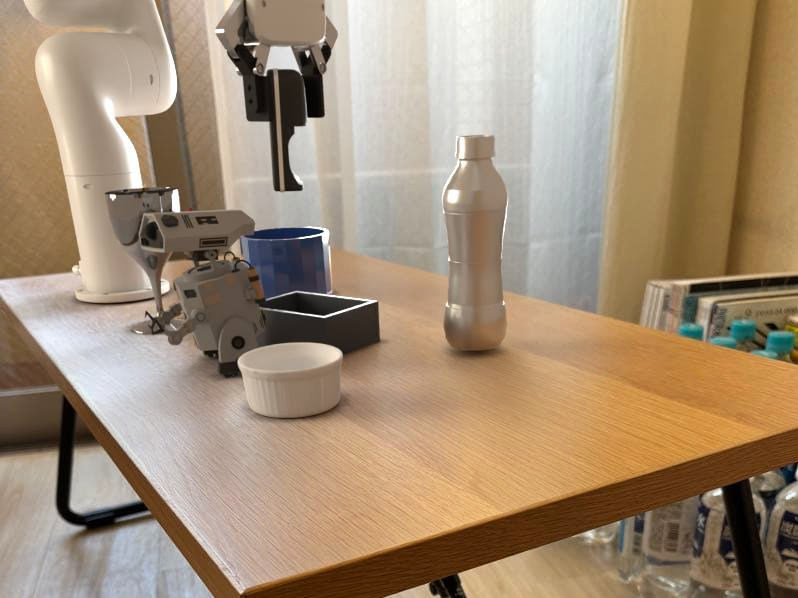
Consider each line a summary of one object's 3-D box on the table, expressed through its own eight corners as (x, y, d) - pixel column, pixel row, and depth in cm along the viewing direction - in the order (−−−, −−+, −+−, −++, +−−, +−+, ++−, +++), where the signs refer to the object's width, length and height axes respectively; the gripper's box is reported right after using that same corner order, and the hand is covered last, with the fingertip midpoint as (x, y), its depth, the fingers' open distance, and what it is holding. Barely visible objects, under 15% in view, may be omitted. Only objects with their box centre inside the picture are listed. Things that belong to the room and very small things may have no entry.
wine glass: (210, 320, 107) (192, 187, 101) (168, 336, 101) (146, 195, 94) (157, 316, 111) (136, 187, 104) (113, 331, 104) (88, 194, 97)
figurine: (147, 364, 91) (121, 208, 84) (257, 349, 95) (241, 199, 88) (160, 388, 84) (132, 219, 77) (280, 370, 87) (263, 208, 80)
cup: (228, 300, 118) (220, 236, 114) (287, 284, 126) (282, 225, 123) (292, 308, 112) (286, 242, 108) (350, 291, 120) (346, 229, 116)
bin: (327, 360, 90) (324, 317, 88) (245, 346, 96) (240, 305, 94) (380, 341, 96) (378, 300, 94) (299, 328, 102) (296, 290, 100)
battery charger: (311, 193, 92) (305, 68, 87) (274, 194, 91) (266, 67, 86) (308, 186, 98) (302, 68, 93) (273, 186, 97) (265, 68, 92)
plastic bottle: (513, 342, 94) (517, 133, 85) (497, 359, 88) (500, 137, 79) (454, 339, 96) (452, 134, 87) (435, 356, 90) (431, 138, 81)
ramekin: (356, 413, 75) (353, 363, 73) (250, 427, 73) (244, 375, 71) (333, 384, 82) (330, 338, 80) (237, 396, 80) (231, 348, 78)
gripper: (304, -78, 91) (316, 115, 100) (171, -98, 79) (197, 123, 87) (361, -86, 87) (368, 115, 95) (230, -109, 75) (251, 124, 83)
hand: (286, 117), depth 91 cm, fingers closed on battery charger, 6 cm apart
